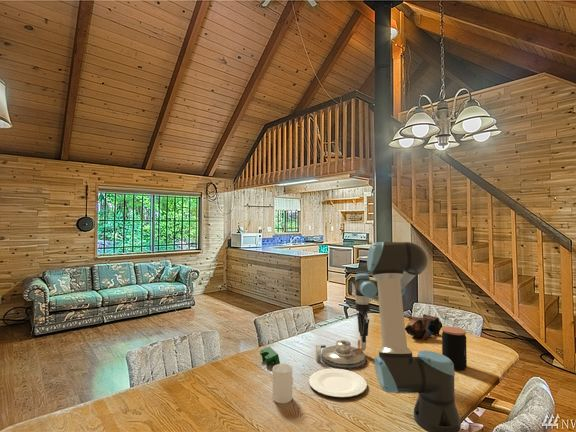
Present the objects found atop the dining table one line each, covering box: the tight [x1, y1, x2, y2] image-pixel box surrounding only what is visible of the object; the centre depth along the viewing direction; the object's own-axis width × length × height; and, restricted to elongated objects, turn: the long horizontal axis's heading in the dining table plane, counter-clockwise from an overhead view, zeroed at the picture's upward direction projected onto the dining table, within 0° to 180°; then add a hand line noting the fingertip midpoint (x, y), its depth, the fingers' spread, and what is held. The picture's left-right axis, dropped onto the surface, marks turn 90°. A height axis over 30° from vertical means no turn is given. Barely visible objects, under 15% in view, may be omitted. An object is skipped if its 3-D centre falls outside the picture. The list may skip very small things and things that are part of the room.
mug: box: [272, 363, 294, 404], centre depth 131 cm, size 8×12×12 cm
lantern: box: [405, 313, 444, 340], centre depth 200 cm, size 16×16×25 cm
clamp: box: [259, 346, 281, 366], centre depth 162 cm, size 12×6×9 cm, turn 21°
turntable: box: [321, 339, 366, 365], centre depth 167 cm, size 25×22×6 cm
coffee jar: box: [441, 325, 468, 372], centre depth 157 cm, size 11×11×18 cm
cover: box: [334, 339, 353, 357], centre depth 166 cm, size 10×10×6 cm
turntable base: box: [315, 344, 367, 370], centre depth 165 cm, size 25×23×8 cm
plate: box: [308, 368, 368, 399], centre depth 139 cm, size 25×25×2 cm
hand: (363, 347), depth 170 cm, fingers closed
